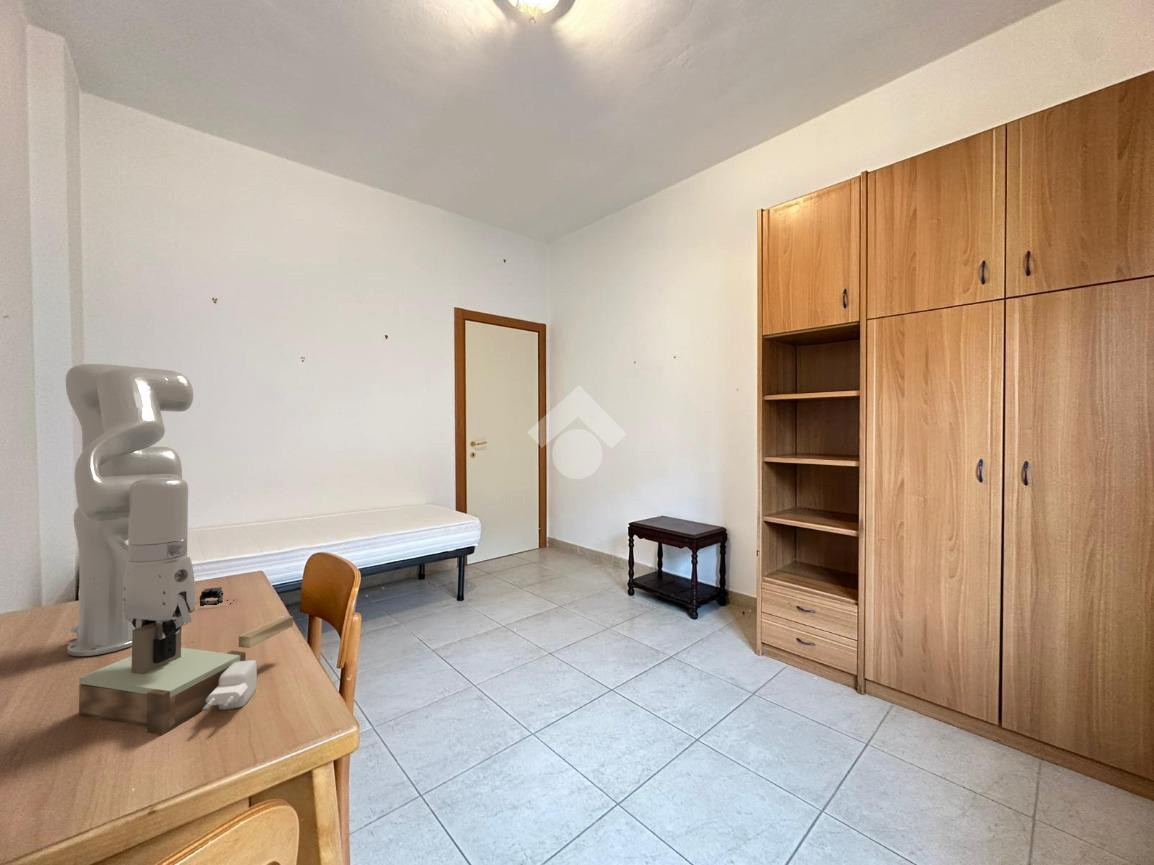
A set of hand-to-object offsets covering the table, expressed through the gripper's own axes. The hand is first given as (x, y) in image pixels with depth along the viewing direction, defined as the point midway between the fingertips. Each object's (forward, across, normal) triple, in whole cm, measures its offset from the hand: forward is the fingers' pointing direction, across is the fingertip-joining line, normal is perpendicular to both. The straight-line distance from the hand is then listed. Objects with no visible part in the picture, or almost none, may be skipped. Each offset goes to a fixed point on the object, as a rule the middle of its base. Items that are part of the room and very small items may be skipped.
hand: (157, 657), depth 79 cm
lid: (+2, -2, 0) cm, 3 cm away
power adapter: (+8, -15, 0) cm, 16 cm away
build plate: (+8, +33, -38) cm, 51 cm away
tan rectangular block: (+1, -9, -13) cm, 16 cm away
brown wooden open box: (+7, -2, 0) cm, 7 cm away
